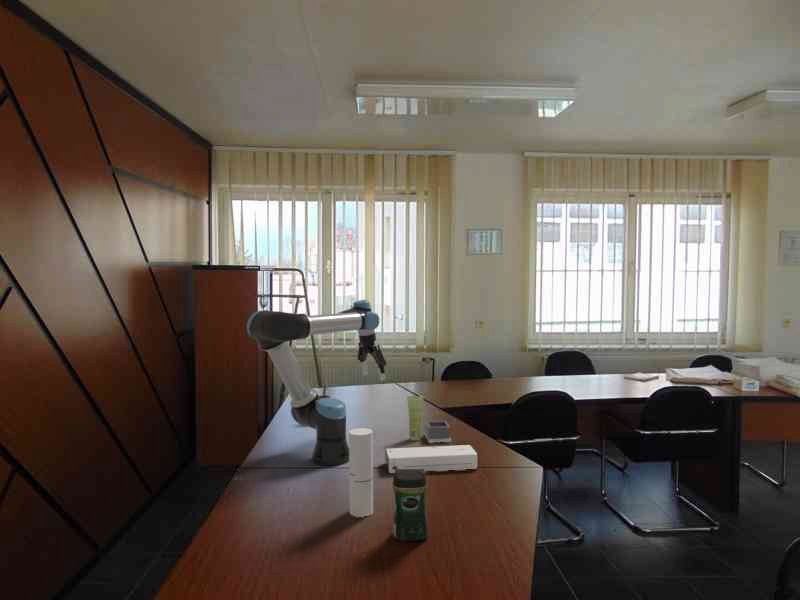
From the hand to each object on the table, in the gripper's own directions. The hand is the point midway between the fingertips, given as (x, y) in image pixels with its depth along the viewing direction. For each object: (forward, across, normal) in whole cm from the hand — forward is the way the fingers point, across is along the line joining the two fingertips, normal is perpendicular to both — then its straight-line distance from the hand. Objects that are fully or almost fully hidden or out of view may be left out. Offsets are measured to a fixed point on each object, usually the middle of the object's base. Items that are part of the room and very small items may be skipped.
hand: (374, 377), depth 235 cm
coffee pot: (+26, +35, +12) cm, 45 cm away
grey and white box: (+29, -25, -12) cm, 40 cm away
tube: (+27, -20, -4) cm, 34 cm away
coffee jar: (+14, -85, +50) cm, 100 cm away
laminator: (+23, -49, +12) cm, 56 cm away
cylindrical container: (+14, -65, +54) cm, 85 cm away
